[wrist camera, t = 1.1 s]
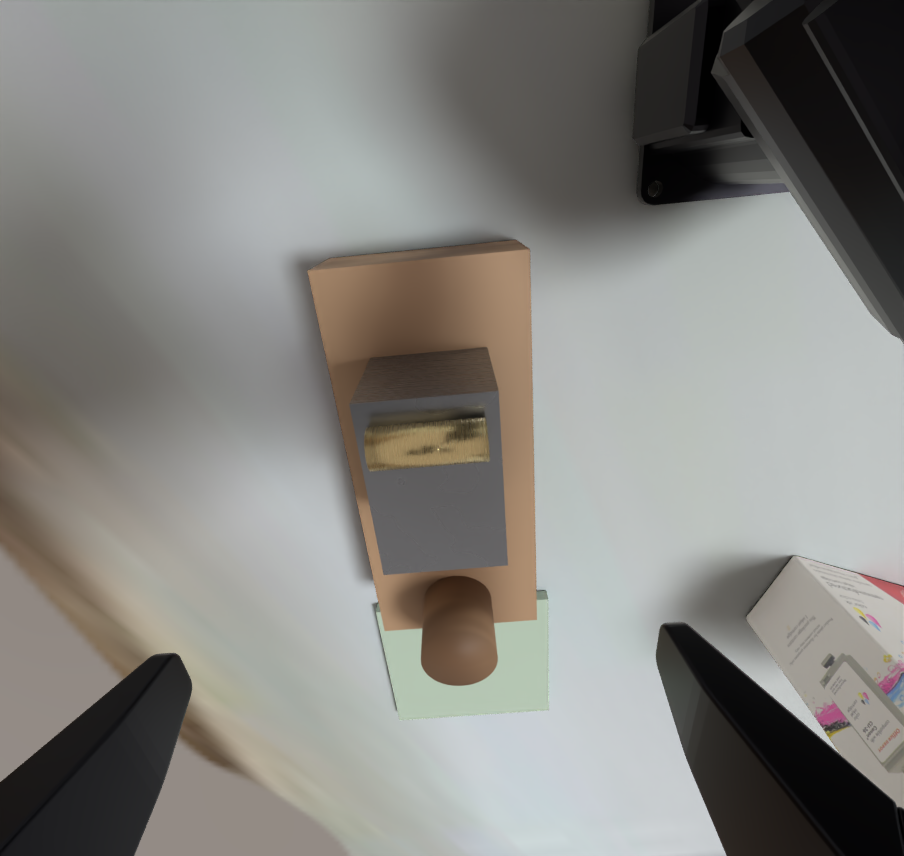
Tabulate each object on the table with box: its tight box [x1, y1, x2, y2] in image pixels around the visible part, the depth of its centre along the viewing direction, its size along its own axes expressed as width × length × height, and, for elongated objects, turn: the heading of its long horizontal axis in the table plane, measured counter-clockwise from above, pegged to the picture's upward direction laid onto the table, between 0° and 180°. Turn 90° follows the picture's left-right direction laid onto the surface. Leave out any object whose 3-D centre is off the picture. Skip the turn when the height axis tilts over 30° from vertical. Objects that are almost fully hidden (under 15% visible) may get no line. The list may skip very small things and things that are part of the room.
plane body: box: [307, 240, 537, 686], centre depth 19 cm, size 7×16×6 cm, turn 5°
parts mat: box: [376, 591, 549, 720], centre depth 27 cm, size 9×9×1 cm
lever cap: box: [349, 347, 508, 575], centre depth 15 cm, size 4×6×5 cm, turn 5°
